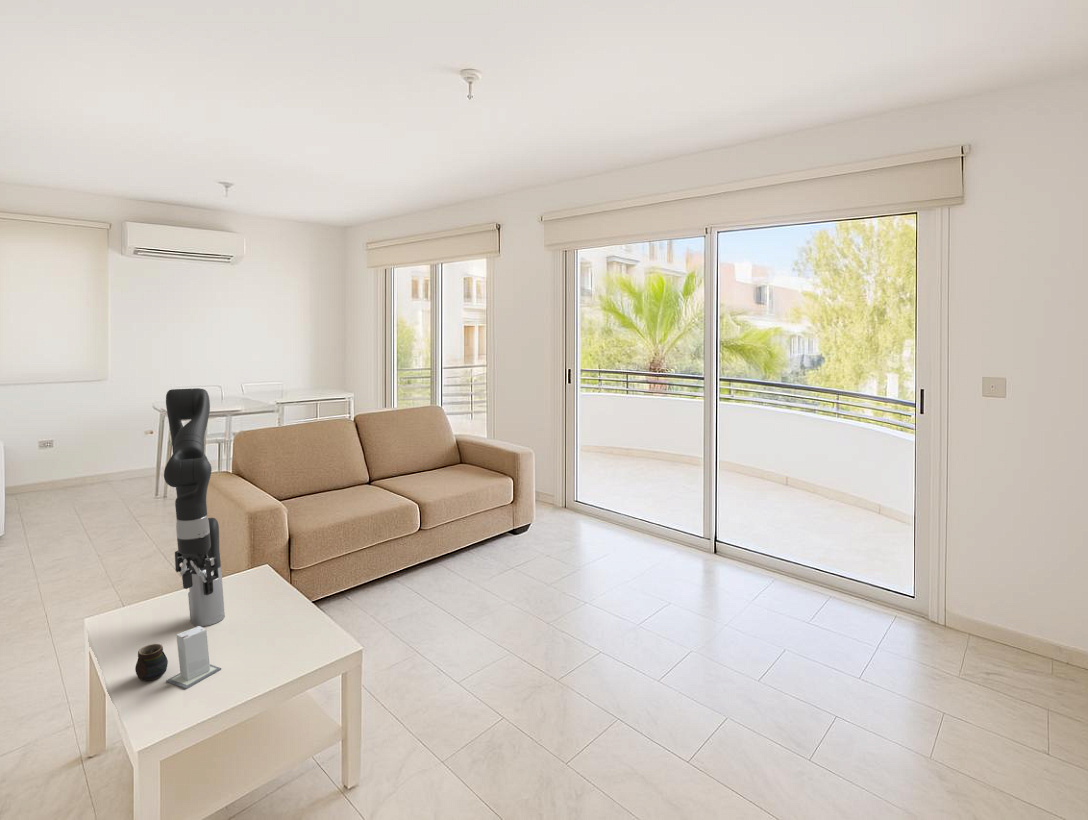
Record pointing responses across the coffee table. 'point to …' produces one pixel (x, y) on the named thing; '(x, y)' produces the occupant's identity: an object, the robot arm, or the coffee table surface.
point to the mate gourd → (151, 662)
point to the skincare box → (193, 652)
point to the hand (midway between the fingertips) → (198, 590)
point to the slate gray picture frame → (185, 684)
